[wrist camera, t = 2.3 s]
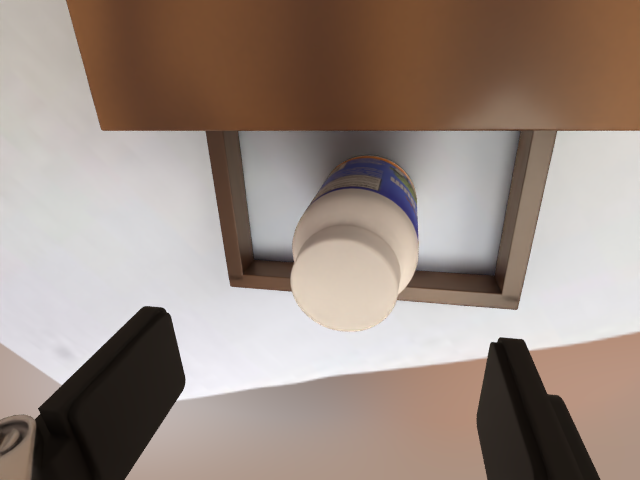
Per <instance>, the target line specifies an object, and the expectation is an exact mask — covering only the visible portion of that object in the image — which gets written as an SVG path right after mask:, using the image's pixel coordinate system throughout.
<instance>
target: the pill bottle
mask: <svg viewBox="0 0 640 480" xmlns="http://www.w3.org/2000/svg"><path fill="white" fill-rule="evenodd" d="M418 248H419V242H418V217H417V198H416V192H415V188H414V186H413V183H412V181H411V179H410V178H409V176H408V175H407V173H406V172H405V171H404V170H403V169H402V168H401V167H400V166H398V165H397V164H396V163H394V162H392V161H390V160H388V159H386V158H382V157H378V156H368V155H367V156H358V157H354V158H351V159H349V160H346V161H345V162H343V163H341V164H340V165H338V166H337V167H336V168H335V169H334V170H333V171H332V172H331V174H330V175H329V176H328V178H327V179H326V181H325V182H324V184H323V185H322V187H321V188H320V190H319V191H318V193H317V194H316V196H315V197H314V199H313V200H312V202H311V203H310V205H309V206H308V208H307V209H306V211H305V212H304V214H303V216H302V217H301V219H300V221H299V222H298V225H297V227H296V229H295V233H294V237H293V244H292V249H293V258H294V265H293V267H292V271H291V289H292V293H293V296H294V298H295V300H296V302H297V304H298V306H299V307H300V308H301V310H302V311H303V312H304V313H305V314H306V315H307V316H308V317H310V318H311V319H312V320H313V321H315V322H317V323H318V324H320V325H322V326H324V327H327V328H329V329H333V330H337V331H345V332H354V331H362V330H365V329H368V328H371V327H373V326H375V325H377V324H379V323H380V322H382V321H383V320H384V319H385V318H386V317H387V316H388V315H389V314H390V312H391V311H392V309H393V308H394V306H395V303H396V301H397V297H398V294H400V293H401V292H402V291H403V290H404V289H405V287H406V286H407V285H408V283H409V282H410V280H411V279H412V277H413V275H414V272H415V269H416V266H417V263H418Z"/></svg>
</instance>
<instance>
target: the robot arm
mask: <svg viewBox="0 0 640 480" xmlns="http://www.w3.org/2000/svg"><path fill="white" fill-rule="evenodd" d="M184 386H185V375H184V370H183V366H182V362H181V358H180V353H179V349H178V345H177V340H176V336H175V332H174V328H173V323H172V319H171V316H170V314H169V313H167V312H166V310H165V309H164V308H161V307H150V306H145V307H143V308H141V309H140V310H139V311H138V312H137V313H136V314H135V315H134V316H133V317H132V318H131V319H130V320H129V321H128V322H127V323H126V324H125V325H124V326H123V327H122V328H121V329H120V330H119V331H118V332H116V333H115V334H114V335H113V336H112V337H111V338H110V339H109V340H108V341H107V342H106V343H105V344H104V345H103V346H102V347H101V348H100V349H99V350H98V351H97V352H96V353H95V354H94V355H93V356H92V357H91V358H90V359H89V360H88V361H87V362H86V363H85V364H84V365H83V366H81V367H80V368H79V369H78V370H77V371H76V372H75V373H74V374H73V375H72V376H71V377H70V378H69V379H68V380H67V381H66V382H65V383H64V384H63V385H62V386H61V387H60V388H59V389H58V390H57V391H56V392H55V393H54V394H53V395H52V396H51V397H50V398H49V399H48V400H46V401H45V403H43V404H42V405H41V406H40V407H39V408H38V409H39V411H40V415H39V416H38V417H37V418H36V419H35V420H34V419H33V418H32V417H31V416H28V415H14V416H10V417H6V418H3V419H1V420H0V480H125V478H126V477H127V475H128V474H129V472H130V471H131V469H132V467H133V466H134V464H135V463H136V461H137V460H138V458H139V457H140V455H141V454H142V452H143V451H144V449H145V448H146V446H147V445H148V443H149V441H150V440H151V438H152V437H153V435H154V434H155V432H156V431H157V429H158V427H159V426H160V425H161V423H162V422H163V420H164V419H165V417H166V415H167V414H168V412H169V411H170V409H171V408H172V406H173V405H174V403H175V402H176V400H177V399H178V397H179V396H180V394H181V393H182V391H183V389H184ZM477 429H478V435H479V439H480V445H481V450H482V454H483V459H484V464H485V469H486V474H487V479H488V480H600V478H599V476H598V473H597V471H596V469H595V467H594V465H593V463H592V461H591V458H590V456H589V454H588V452H587V450H586V448H585V446H584V444H583V441H582V439H581V437H580V435H579V433H578V431H577V428H576V426H575V424H574V422H573V420H572V418H571V416H570V413H569V411H568V409H567V407H566V405H565V403H564V401H563V400H562V398H561V397H559V396H558V395H549V394H547V392H546V390H545V388H544V386H543V383H542V381H541V378H540V376H539V374H538V371H537V369H536V367H535V364H534V362H533V360H532V357H531V355H530V353H529V350H528V348H527V346H526V343H525V342H524V340H522V339H513V338H501V337H500V338H499V339H498V342H497V343H495V342H491V344H490V347H489V353H488V358H487V363H486V369H485V374H484V380H483V385H482V390H481V395H480V401H479V406H478V412H477Z"/></svg>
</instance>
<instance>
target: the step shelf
mask: <svg viewBox="0 0 640 480" xmlns="http://www.w3.org/2000/svg"><path fill="white" fill-rule="evenodd" d="M66 2H67V5H68V9H69V13H70V16H71V20H72V24H73V28H74V31H75V35H76V39H77V42H78V46H79V50H80V53H81V57H82V61H83V64H84V68H85V72H86V75H87V79H88V83H89V87H90V90H91V94H92V98H93V101H94V105H95V109H96V112H97V116H98V120H99V123H100V127H101V130H103V131H206V136H207V143H208V149H209V155H210V162H211V168H212V174H213V180H214V187H215V193H216V199H217V206H218V212H219V218H220V225H221V231H222V237H223V244H224V250H225V256H226V262H227V269H228V275H229V280H230V286H231V287H242V288H255V289H267V290H279V291H292V289H291V271H292V267H293V265H294V262H281V261H266V260H254V257H253V249H252V241H251V233H250V225H249V217H248V209H247V201H246V193H245V185H244V177H243V168H242V160H241V152H240V144H239V136H238V131H521V132H520V138H519V143H518V149H517V154H516V160H515V165H514V171H513V176H512V182H511V187H510V193H509V198H508V204H507V209H506V215H505V220H504V226H503V231H502V237H501V242H500V248H499V253H498V259H497V264H496V270H495V275H494V276H491V275H476V274H461V273H446V272H431V271H416V270H415V272H414V275H413V277H412V279H411V280H410V282H409V283H408V285H407V286H406V287H405V289H404V290H403V291H402V292H401V293H400V294H398V297H397V300H403V301H415V302H427V303H440V304H452V305H464V306H476V307H489V308H501V309H513V310H517V309H518V305H519V301H520V296H521V292H522V287H523V283H524V278H525V274H526V269H527V265H528V260H529V256H530V251H531V247H532V242H533V238H534V233H535V229H536V224H537V220H538V215H539V211H540V206H541V202H542V197H543V192H544V188H545V183H546V179H547V174H548V170H549V165H550V161H551V156H552V152H553V147H554V143H555V138H556V134H557V131H640V0H66Z"/></svg>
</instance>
